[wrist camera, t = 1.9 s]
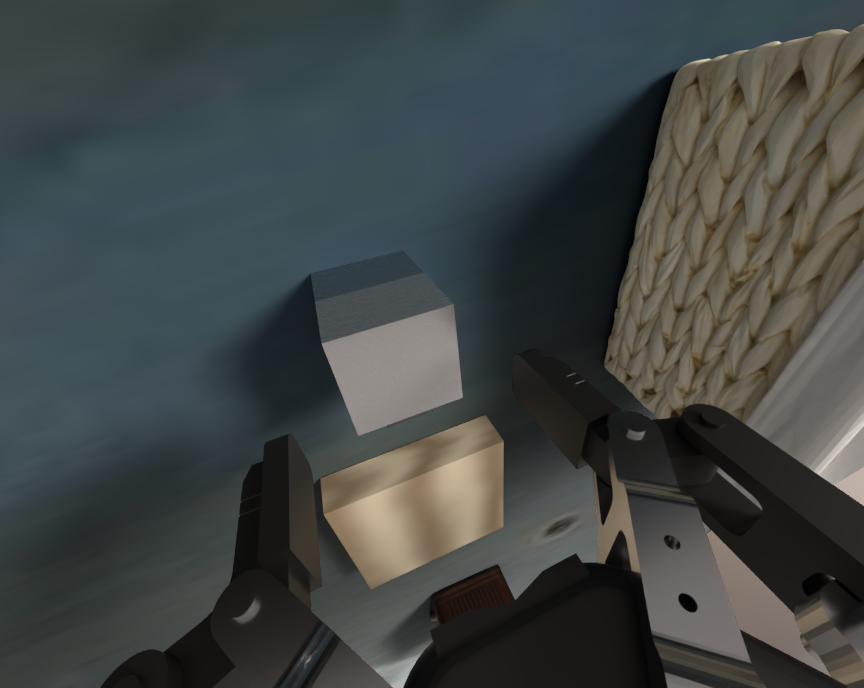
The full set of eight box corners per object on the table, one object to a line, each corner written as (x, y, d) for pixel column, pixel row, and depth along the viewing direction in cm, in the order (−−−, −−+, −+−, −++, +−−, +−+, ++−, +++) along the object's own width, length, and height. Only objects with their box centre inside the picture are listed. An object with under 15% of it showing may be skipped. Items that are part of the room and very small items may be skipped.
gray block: (402, 250, 18) (453, 304, 12) (419, 341, 22) (464, 414, 16) (310, 273, 17) (321, 343, 11) (344, 365, 20) (365, 452, 15)
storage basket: (713, 332, 34) (931, 436, 22) (582, 383, 31) (760, 537, 19) (856, 11, 20) (1632, -149, 8) (646, 41, 17) (1451, -154, 5)
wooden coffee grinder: (426, 595, 44) (491, 818, 30) (499, 562, 47) (590, 750, 33) (431, 633, 52) (483, 819, 38) (492, 603, 55) (562, 766, 41)
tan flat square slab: (485, 414, 28) (503, 441, 25) (489, 500, 36) (503, 527, 34) (320, 478, 25) (323, 514, 23) (365, 556, 33) (371, 589, 31)
